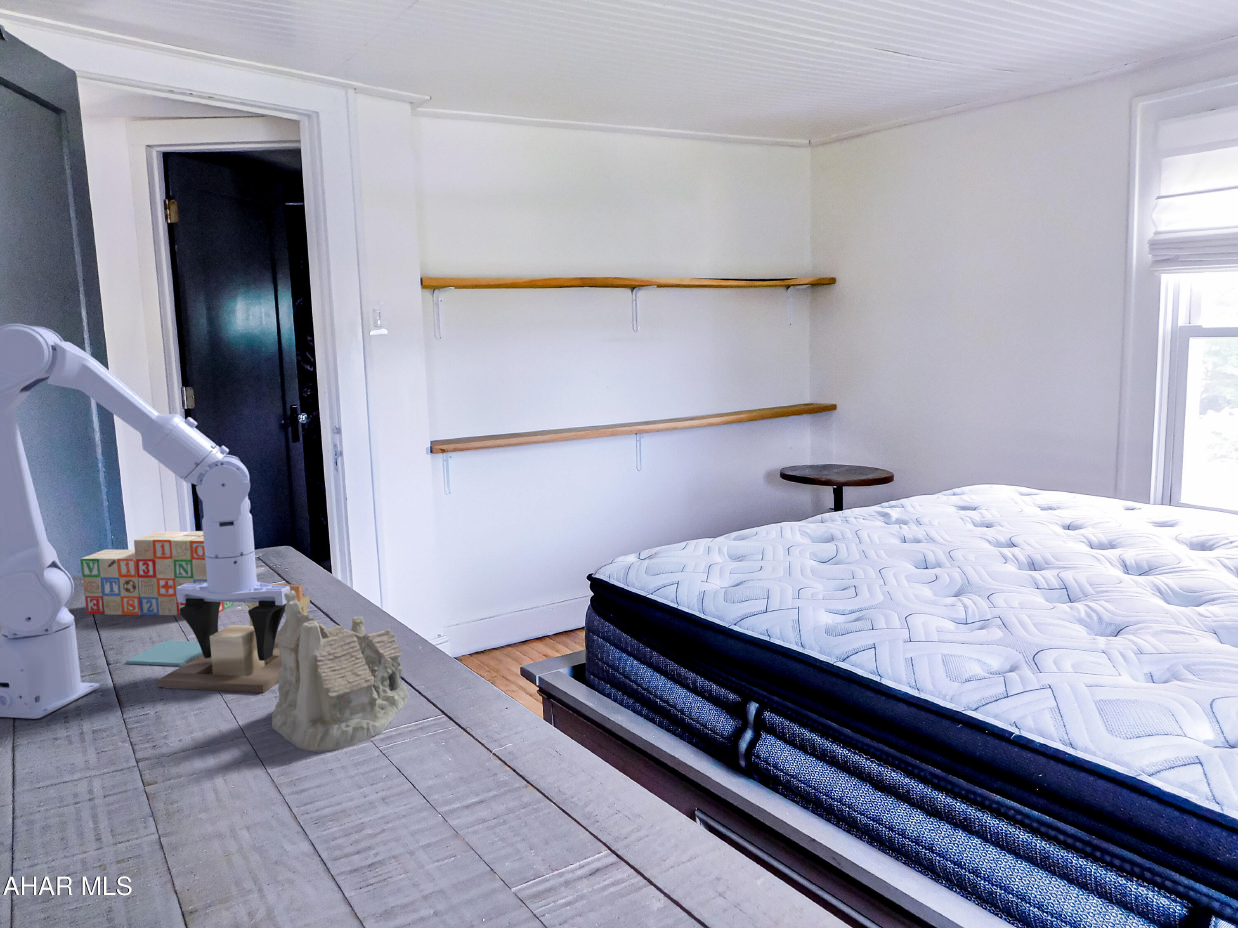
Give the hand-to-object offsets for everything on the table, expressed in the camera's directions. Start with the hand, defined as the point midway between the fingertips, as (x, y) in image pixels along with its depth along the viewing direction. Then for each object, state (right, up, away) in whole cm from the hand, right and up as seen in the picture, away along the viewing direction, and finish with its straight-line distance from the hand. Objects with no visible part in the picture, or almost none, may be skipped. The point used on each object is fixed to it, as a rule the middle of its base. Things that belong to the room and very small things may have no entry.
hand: (238, 656), depth 111 cm
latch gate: (+2, +1, +10) cm, 10 cm away
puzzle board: (+1, -2, +4) cm, 4 cm away
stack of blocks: (-25, +1, +28) cm, 38 cm away
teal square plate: (-12, -1, +7) cm, 14 cm away
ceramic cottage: (+18, -4, -13) cm, 23 cm away
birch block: (0, -2, 0) cm, 2 cm away
